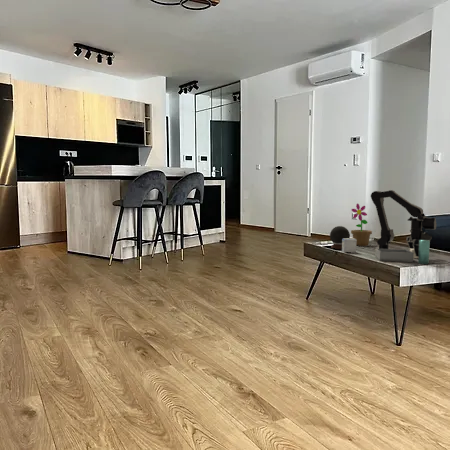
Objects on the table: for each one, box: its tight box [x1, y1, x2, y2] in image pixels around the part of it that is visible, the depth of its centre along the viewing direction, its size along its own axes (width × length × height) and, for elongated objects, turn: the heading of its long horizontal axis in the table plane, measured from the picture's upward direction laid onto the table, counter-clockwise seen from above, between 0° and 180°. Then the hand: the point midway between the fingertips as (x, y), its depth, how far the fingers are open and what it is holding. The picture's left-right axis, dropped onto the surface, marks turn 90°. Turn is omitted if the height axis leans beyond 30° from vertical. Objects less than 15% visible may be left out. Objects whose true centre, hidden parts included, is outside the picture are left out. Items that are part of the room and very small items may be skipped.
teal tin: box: [417, 239, 431, 265], centre depth 227 cm, size 5×5×12 cm
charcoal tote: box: [374, 248, 414, 263], centre depth 239 cm, size 14×18×5 cm
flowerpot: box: [350, 203, 373, 247], centre depth 301 cm, size 14×14×30 cm
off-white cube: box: [409, 248, 418, 259], centre depth 246 cm, size 5×5×5 cm
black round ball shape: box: [329, 225, 351, 250], centre depth 285 cm, size 13×13×15 cm
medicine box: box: [341, 237, 357, 254], centre depth 266 cm, size 8×4×9 cm, turn 92°
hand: (415, 255), depth 247 cm, fingers open, 9 cm apart
